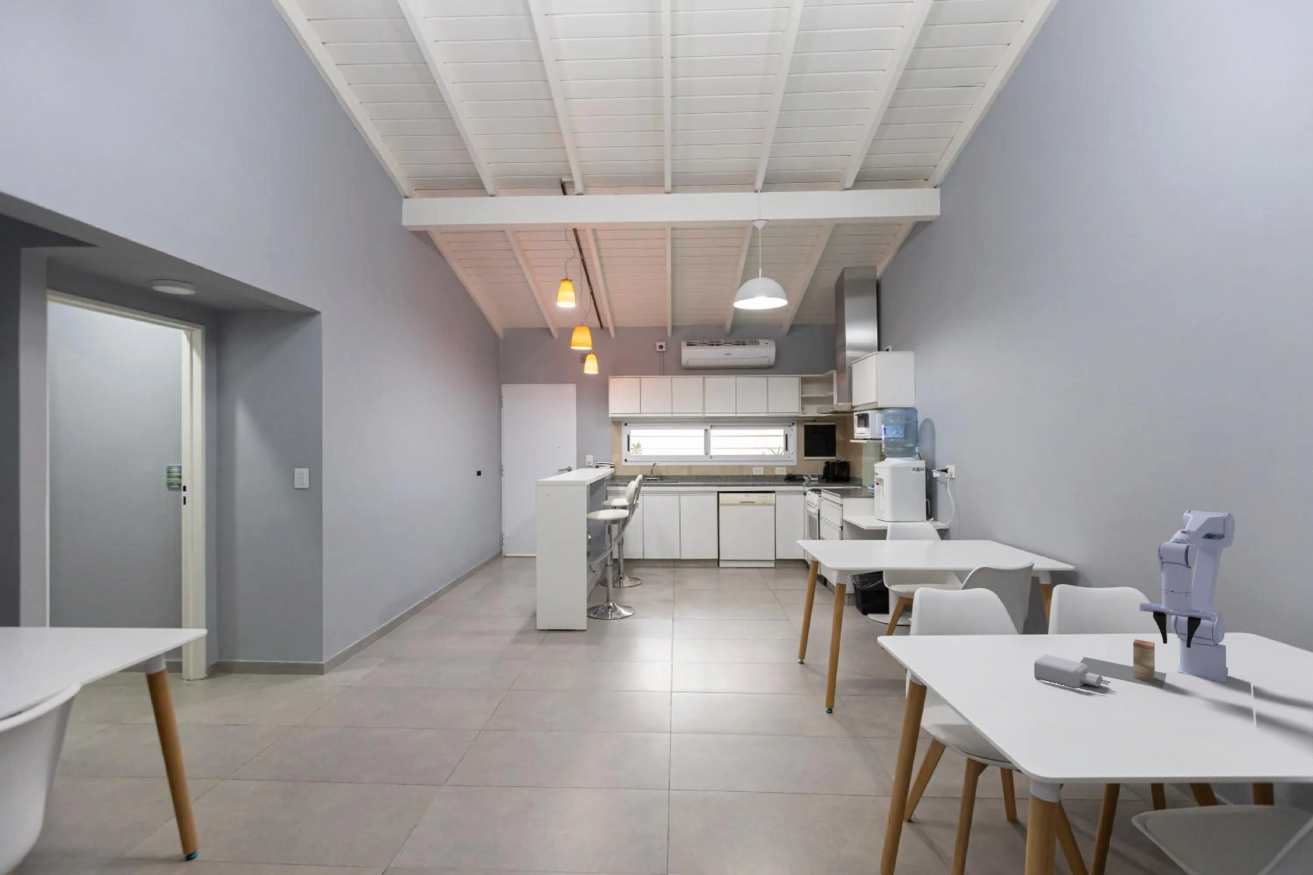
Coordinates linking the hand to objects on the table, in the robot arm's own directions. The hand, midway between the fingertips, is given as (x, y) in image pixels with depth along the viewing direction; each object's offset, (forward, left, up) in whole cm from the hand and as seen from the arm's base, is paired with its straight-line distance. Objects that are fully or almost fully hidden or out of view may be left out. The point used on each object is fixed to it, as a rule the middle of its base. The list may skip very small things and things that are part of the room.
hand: (1176, 644), depth 154 cm
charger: (+19, +16, -11) cm, 27 cm away
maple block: (+6, 0, -10) cm, 12 cm away
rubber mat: (+11, -1, -10) cm, 16 cm away
